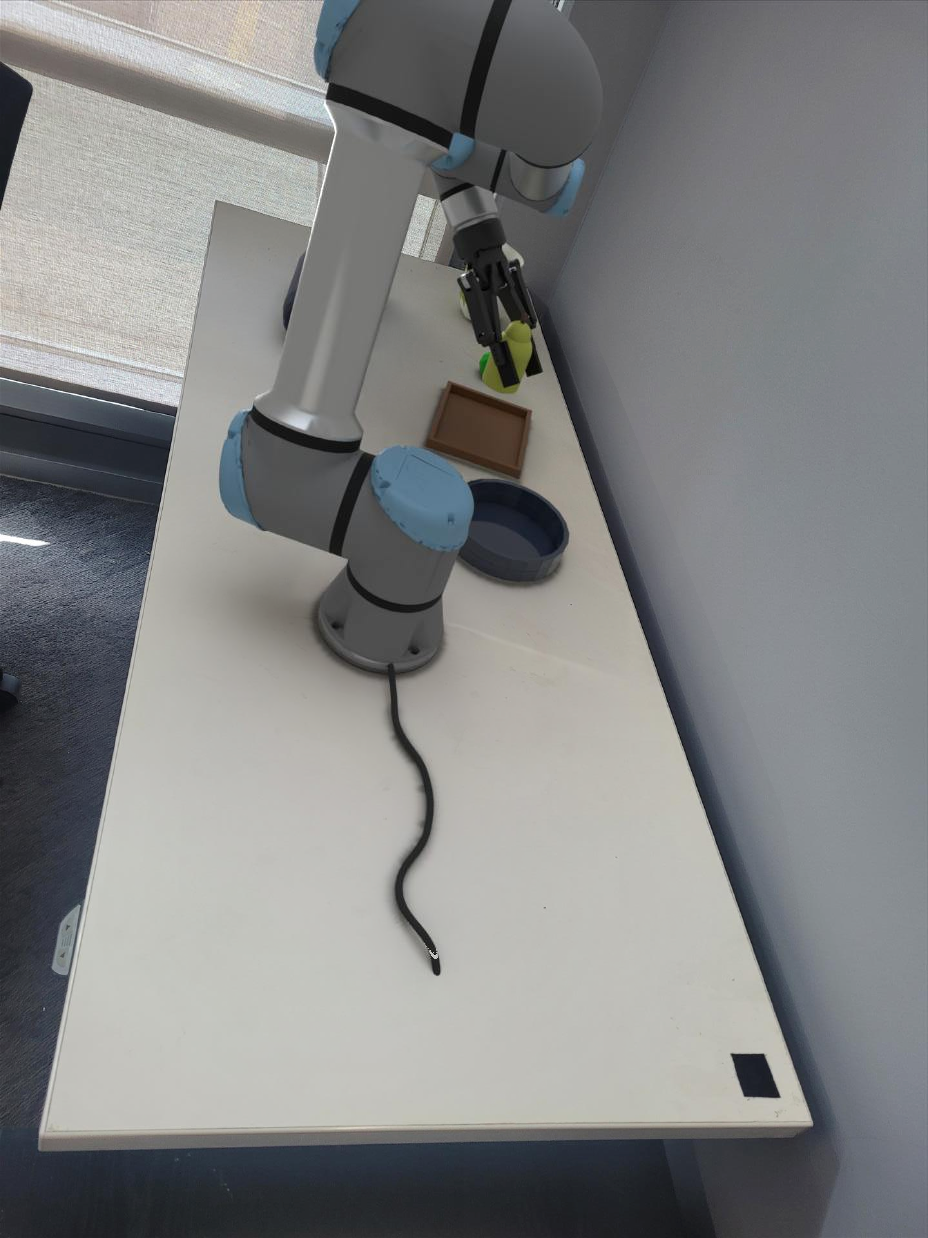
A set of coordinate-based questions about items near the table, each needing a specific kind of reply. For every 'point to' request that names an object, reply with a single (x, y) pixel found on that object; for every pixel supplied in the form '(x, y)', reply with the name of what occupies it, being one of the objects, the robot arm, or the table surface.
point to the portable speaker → (292, 292)
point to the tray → (481, 429)
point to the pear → (520, 351)
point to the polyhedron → (483, 362)
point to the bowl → (513, 532)
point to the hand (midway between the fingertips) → (523, 379)
